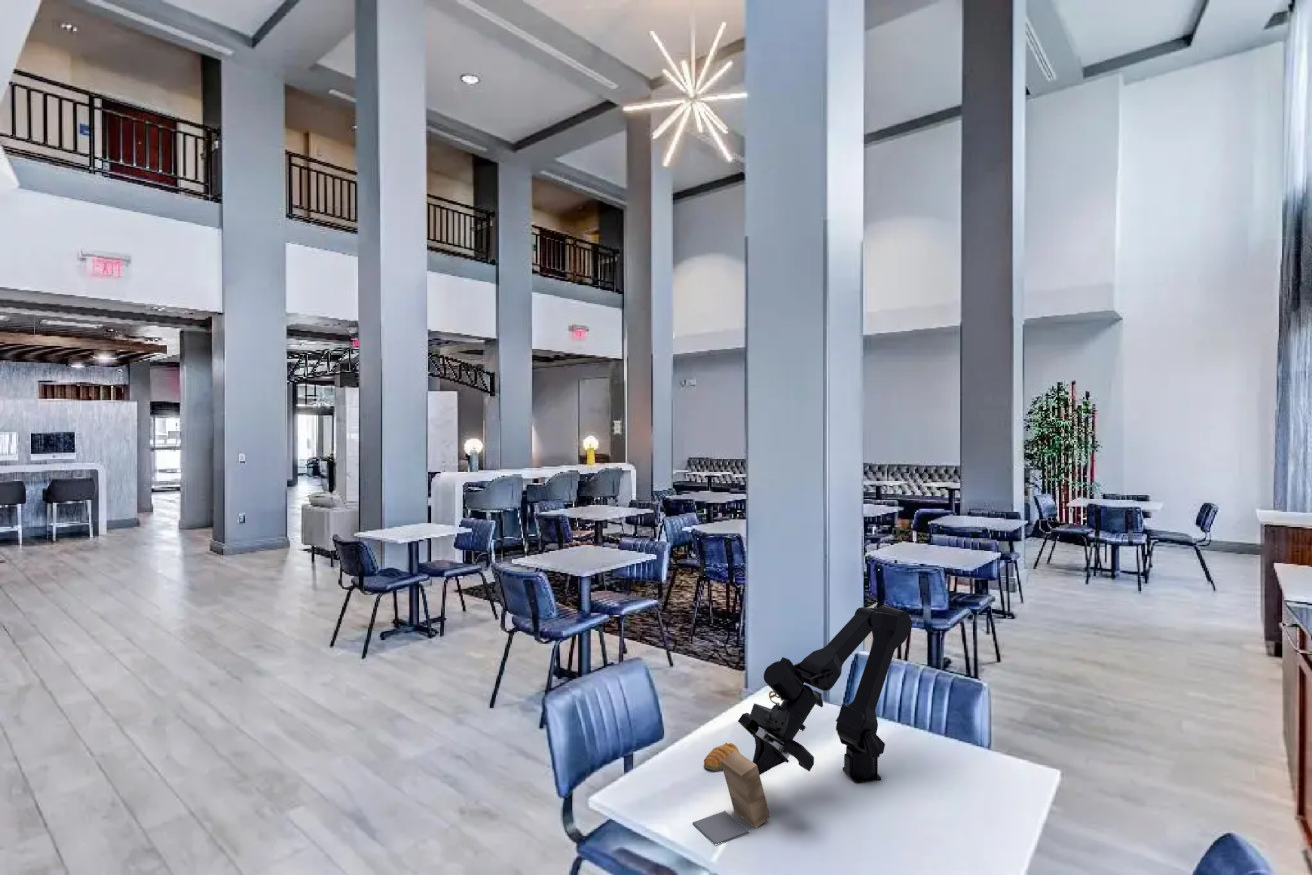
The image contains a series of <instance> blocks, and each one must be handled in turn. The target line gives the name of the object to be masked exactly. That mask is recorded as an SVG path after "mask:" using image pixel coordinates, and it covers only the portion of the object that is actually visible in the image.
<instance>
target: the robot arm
mask: <svg viewBox="0 0 1312 875" xmlns="http://www.w3.org/2000/svg"><path fill="white" fill-rule="evenodd" d="M912 626H913V620H912V619H911V615H910V614H909V612H907V611H905V610H902V609H897V608H894V607H892V606H888V605H880V606H879V607H877V608H876V607H865V606H861V607H858V608H856V610H855V613H854V615H853V616H852V617H851V619H850V620H848V622H846V624H845V625H844V626H843V627H842V628H841V629H840V630H839V632H837V633H836V634H835V636H834V637H832V639H830V641H829V642H828V644H826V645H825V646H824V647H822V648H820V649H816V650H814V651H812V652H810V654H808V655H807V656H806V657H804V658H803V659H802V661H800V662H798V663H795V664H793V662H792V661H791V659H789V658H787V657H784V656H782V657H781V659H780V661H779V660H777V661H774V662H773V663H771V664H770V665H768V666H767V667H766V668H765V670H764V673H763V680H764V683H766V685H767V686H768V687H769V688H770V689H771V691H774V692H775V693H776V694H777V696H779V697H780V698H781V699H783V702H782V701H781V704H780V706H779V705H778V704H774V705H772V707H771V708H769V707H767V706H764V705H761V704H758V703H755V702H754V703H753V705H752V708H751V711H750V713H749V712H745V713H742V715H741V716H740V717H739V719H738V720H737V722H738V724H740V725H741V726H742V727H743V728H744V729H745V730H746V731H747V732H748V733H749V735H751V736H752V737H753V738H754V743H755V748H754V754H753V758H752V762H753V763H755V764H756V765H757V767H758V771H759V775H760V776H761V775H763V774H764V773H766V772H768V771H769V770H771V769H773V768H775V767H777V766H779V765H781V764H783V763H787V764H789V762H790V760H789V757H790V756H792V757H793V758H794V759H796V760H797V762H798V765H799V766H800V767H801V768H803V769H804V770H806V771H807V772H810V771H811V769H812V768H813V766H814V765H815V757H814V755H813V754H812V753H811V752H810V751H809V750H807V749H806V747H805V746H804V745H802V744H801V743H799V742H798V741H796V740H794V738H795V737H796V736H797V734H798V732H800V731H799V729H800V730H802V731H801V732H804V731H805V729H806V725H805V724H804V723H805V721H806V720H807V718H808V717H809V715H810V713H811V712H812V710H813V709H814V707H815V706H818V707H820V708H824V701H823V699H822V696H823V694H822V693H821V692H819V691H817V690H814V689H813V688H816V689H818V690H820V691H824V692H826V691H827V692H828V691H830V690H831V689H832V688H833V687H834V686H836V683H837V682H838V680H839V679H840V677H841V676H842V668H843V665H844V664H845V661H847V659H848V658H849V657H850V656H851V655H852V654H853V653H854V652H855V650H857V649H858V647H859V646H860V645H861V644H862V642H863V641H864V640H866V638H867V637H868V636H869V635H870V634H872V635H871V636H872V638H873V642H872V645H871V648H870V650H869V653H868V656H867V660H866V662H865V665H864V669H863V672H862V675H861V678H860V681H859V683H858V687H857V690H856V692H855V696H854V698H853V700H852V701H851V702H849V703H848V705H845V704H842V705H841V706H840V708H839V709H840V710H839V712H838V717H837V718H836V720H835V722H836V724H835V725H836V726H835V731H836V733H837V736H838V738H839V741H840V743H841V744H842V745H845V746H846V747H845V753H844V755H843V759H844V760H843V767H842V771H843V772H844V773H845V774H846V775H847V776H848V777H849V778H850V779H851V781H853V782H854V783H855V784H861V783H863V784H864V783H869V782H876V781H877V782H879V781H882V776H880V774H878V772H879V767H878V764H879V762H878V761H879V760H878V759H879V758H880V755H882V754H884V751H885V749H886V748H885V747H886V743H885V742H884V740H882V739H881V738H880V737H879V736H878V734H877V732H878V729H879V728H878V727H879V724H878V719H877V718H878V717H877V712H876V709H877V706H878V702H879V699H880V696H881V693H882V691H883V688H884V685H885V681H886V678H887V675H888V672H889V669H890V665H891V663H892V660H893V657H894V653H895V651H896V650H897V648H899V647H900V646H901V645H902V644H904V643H905V642H906V641H907V639H908V637H909V634H910V632H911V629H912ZM810 686H811V687H813V688H811V687H810ZM775 693H774V694H775ZM780 698H779V699H780Z"/></svg>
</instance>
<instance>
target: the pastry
mask: <svg viewBox="0 0 1312 875" xmlns="http://www.w3.org/2000/svg"><path fill="white" fill-rule="evenodd" d="M735 750H736V751H737V752H739V753H740V754H741V752H740V750H739V748H738V746H736V745H735V744H734V743H730V742H729V743H728V742H725V743H724V744H721V745H719V746H716V747H713V748H712V750H710V751H709V753H708V754H707V755H706V756H705V758H704V759H703V767H704V768H705V769H707V770H709V771H712V772H717V771H723V768H722V764H721V760H722V759H724V758H725V757H726V756H728V755H729V754H731V753H732V752H734V751H735Z"/></svg>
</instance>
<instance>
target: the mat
mask: <svg viewBox="0 0 1312 875" xmlns="http://www.w3.org/2000/svg"><path fill="white" fill-rule="evenodd" d="M692 826H694V827H695V828H696V830H698V831H699V832H700V833H701V834H702V835H703V836H704V837H706V838H707V840H709V841H710V842H711V843H712V842H713V843H714V844H718V843H721V842H724V843H727V842H730V841H732V840H735V839H737V838H739V837H742V836H745V835H747V834H749V833H750V830H749V829H748V828H746V827H745V826H744V825H742V823H740V822H739V821H738V820H737V819H735V818H734V817H733V816H732V815H731V814H730V813H728V812H727V811H726V810H723V811H721V812H717V813H715V814H712V815H710V816H707V817H704V818H701V819H697V820H695V821H692ZM726 841H727V842H726ZM713 843H712V844H713ZM714 844H713V845H714ZM721 844H722V843H721Z"/></svg>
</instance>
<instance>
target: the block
mask: <svg viewBox="0 0 1312 875" xmlns="http://www.w3.org/2000/svg"><path fill="white" fill-rule="evenodd" d="M739 752H740V751H739ZM739 752H737V751H736V750H735V751H734V752H732V753H731V754H729V755H728V756H726V757H725V758H724V759H722V760H721V764H722V768H723V770H722V771H723V775H724V779H725V782H726V786H727V789H728V793H729V796H730V800H731V804H732V807H733V808H732V809H733V811H734V813H736V814H737V815H738V816H739V817H740V818H742V819H743V820H744V821H745V822H747V823H748V824H749V825H750V826H752V827H753V828H754V829H757V828H758V827H760V826H761V825H762V824H763V823H764V822H766V821H768V820H769V819H770V818H771V814H770V810H769V806H768V802H767V798H766V795H765V790H764V787H763V782H762V779H761V775H759V771H758V767H757V765H756V764H755V763H753V760H750V759H749V758H747V757H746V756H744V755H743V754H741V752H740V753H739Z"/></svg>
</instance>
